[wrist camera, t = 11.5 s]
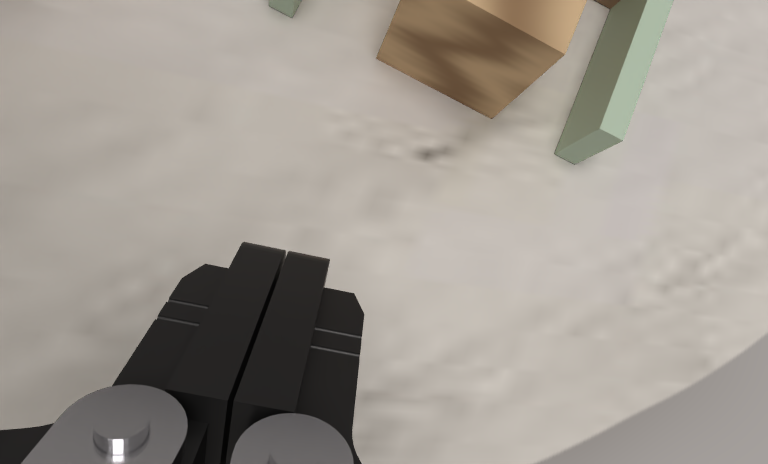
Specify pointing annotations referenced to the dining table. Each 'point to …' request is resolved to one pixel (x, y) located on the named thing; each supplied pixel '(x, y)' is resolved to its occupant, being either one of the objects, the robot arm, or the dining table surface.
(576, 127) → the bay
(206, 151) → the dining table surface
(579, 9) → the oak block
